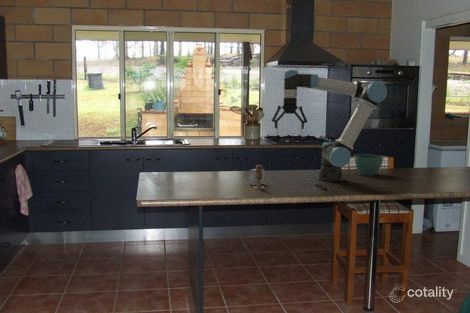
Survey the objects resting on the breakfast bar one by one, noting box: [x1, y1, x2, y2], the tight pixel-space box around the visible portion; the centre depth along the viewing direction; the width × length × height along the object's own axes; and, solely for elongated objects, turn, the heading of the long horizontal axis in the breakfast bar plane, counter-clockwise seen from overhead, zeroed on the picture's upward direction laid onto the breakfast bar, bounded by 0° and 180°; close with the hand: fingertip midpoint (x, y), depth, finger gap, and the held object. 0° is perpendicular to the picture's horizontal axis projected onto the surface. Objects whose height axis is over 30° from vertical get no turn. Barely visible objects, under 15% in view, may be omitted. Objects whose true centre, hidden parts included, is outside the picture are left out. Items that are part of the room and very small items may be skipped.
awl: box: [255, 164, 263, 187], centre depth 281 cm, size 3×3×12 cm
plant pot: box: [354, 153, 384, 177], centre depth 331 cm, size 18×18×12 cm
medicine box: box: [248, 168, 265, 187], centre depth 291 cm, size 8×4×9 cm, turn 132°
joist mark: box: [253, 185, 266, 189], centre depth 282 cm, size 6×4×1 cm, turn 89°
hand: (288, 134), depth 292 cm, fingers open, 13 cm apart
